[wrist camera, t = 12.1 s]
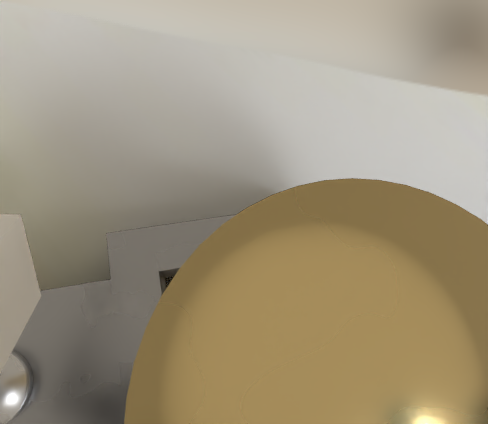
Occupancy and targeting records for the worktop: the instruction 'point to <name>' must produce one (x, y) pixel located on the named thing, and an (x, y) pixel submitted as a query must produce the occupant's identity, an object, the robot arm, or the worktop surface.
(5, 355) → the robot arm
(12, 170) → the worktop surface
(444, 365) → the brass pin
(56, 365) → the grey flange mount bracket
